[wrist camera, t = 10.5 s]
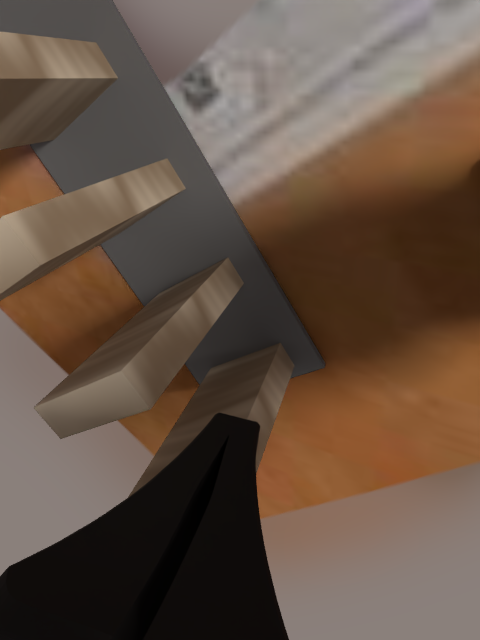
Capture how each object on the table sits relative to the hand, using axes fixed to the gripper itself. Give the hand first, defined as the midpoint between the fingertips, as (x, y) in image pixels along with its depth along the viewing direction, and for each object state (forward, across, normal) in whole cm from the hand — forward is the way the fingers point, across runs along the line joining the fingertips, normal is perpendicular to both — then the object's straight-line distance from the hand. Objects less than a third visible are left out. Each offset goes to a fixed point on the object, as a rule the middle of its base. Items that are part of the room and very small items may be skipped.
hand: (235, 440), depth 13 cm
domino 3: (+10, +5, 0) cm, 11 cm away
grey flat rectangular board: (+11, +8, -4) cm, 14 cm away
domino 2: (+10, +8, -4) cm, 14 cm away
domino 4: (+10, +1, +5) cm, 11 cm away
